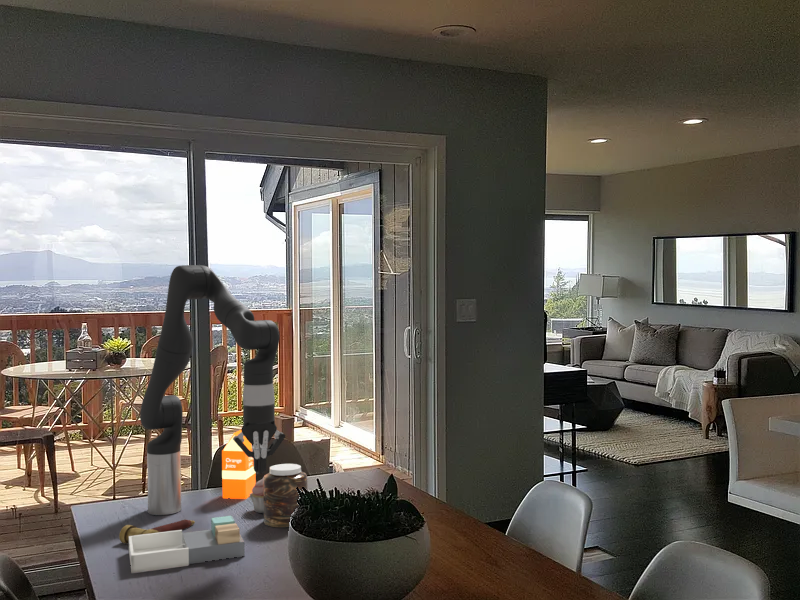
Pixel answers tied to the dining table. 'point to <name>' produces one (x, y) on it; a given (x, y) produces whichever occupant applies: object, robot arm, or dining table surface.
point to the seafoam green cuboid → (221, 522)
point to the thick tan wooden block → (227, 533)
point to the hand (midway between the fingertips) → (259, 473)
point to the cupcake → (258, 496)
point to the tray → (157, 551)
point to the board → (210, 547)
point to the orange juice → (237, 470)
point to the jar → (282, 493)
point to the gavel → (133, 530)
